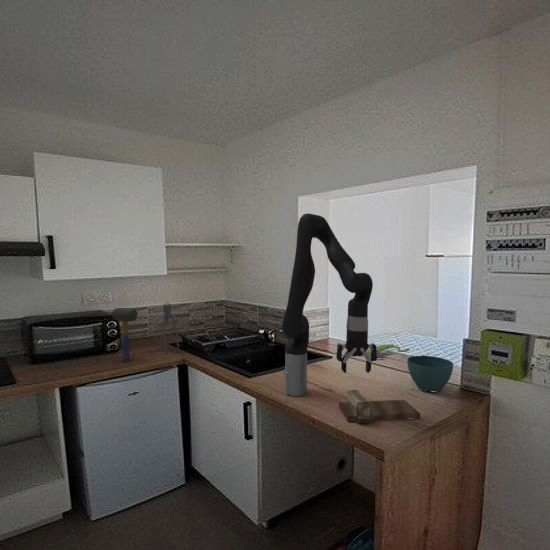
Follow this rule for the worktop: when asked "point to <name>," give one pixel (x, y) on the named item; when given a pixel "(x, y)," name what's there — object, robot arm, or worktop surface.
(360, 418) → the beige wooden block
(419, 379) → the plant pot
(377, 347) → the figurine
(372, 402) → the walnut plank
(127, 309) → the rubber mallet
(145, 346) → the worktop surface
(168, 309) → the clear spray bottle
